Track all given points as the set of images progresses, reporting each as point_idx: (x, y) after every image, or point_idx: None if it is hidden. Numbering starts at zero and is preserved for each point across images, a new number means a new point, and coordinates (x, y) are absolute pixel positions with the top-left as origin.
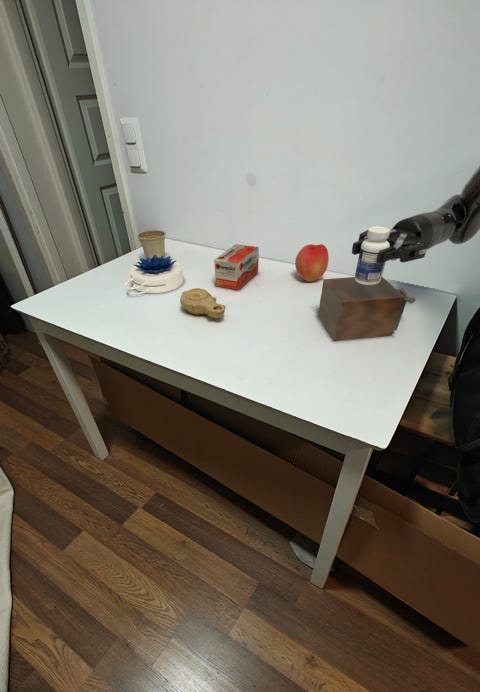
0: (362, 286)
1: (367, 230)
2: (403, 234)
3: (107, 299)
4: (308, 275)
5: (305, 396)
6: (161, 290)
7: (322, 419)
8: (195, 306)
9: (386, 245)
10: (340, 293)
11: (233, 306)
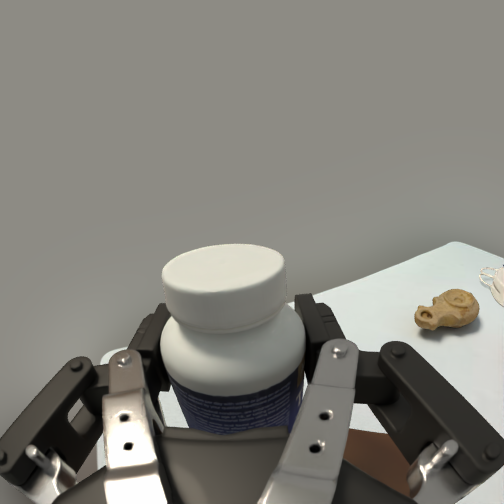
0: None
1: (463, 403)
2: (132, 477)
3: (473, 269)
4: None
5: None
6: (495, 295)
7: None
8: (433, 298)
9: (166, 325)
10: None
11: (465, 356)
